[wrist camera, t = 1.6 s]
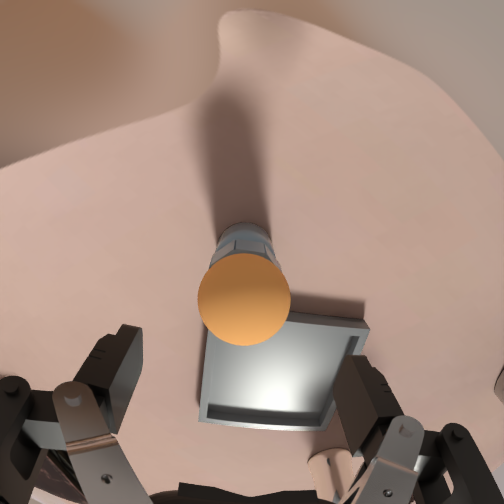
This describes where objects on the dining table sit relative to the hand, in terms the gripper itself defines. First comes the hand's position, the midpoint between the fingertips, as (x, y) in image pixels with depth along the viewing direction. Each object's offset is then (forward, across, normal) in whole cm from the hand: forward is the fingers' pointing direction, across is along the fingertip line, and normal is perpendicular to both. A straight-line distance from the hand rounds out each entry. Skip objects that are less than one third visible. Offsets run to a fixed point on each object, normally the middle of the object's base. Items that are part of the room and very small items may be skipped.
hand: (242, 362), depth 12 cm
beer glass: (+14, -16, +28) cm, 36 cm away
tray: (+14, -5, +12) cm, 20 cm away
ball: (+6, 0, 0) cm, 6 cm away
